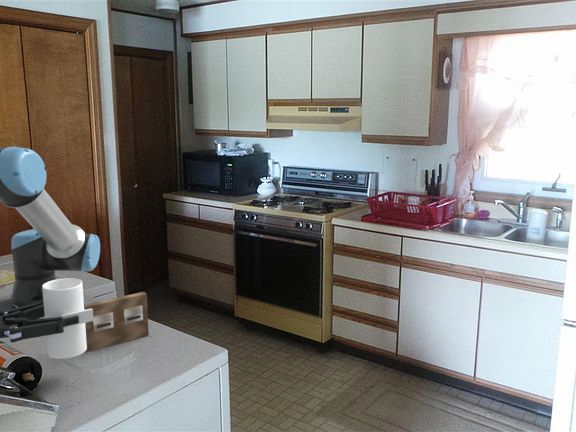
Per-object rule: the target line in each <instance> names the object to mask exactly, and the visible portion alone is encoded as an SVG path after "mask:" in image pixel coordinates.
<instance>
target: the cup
mask: <svg viewBox="0 0 576 432" xmlns="http://www.w3.org/2000/svg"><path fill="white" fill-rule="evenodd" d="M83 286H84V285H83V280H81V279H79V278H69V277H67V278H59V279H58V278H57V280H52V281H49V282H46V283H45V284H43V286H42V290H43V302H44V314H45V316H44V318H56V317H61V315H64V314H69V313H73V312H78V311H82V310H84V305H85V304H84V288H83ZM46 347H47V355H48V357H49V358H51V359H56V360H65V359H71V358H75V357H78V356H80V355H82V354H83V353H85V352H86V351H87V342H86V328H85V323H82V324H78V325H73V326H69V327H65V328H64V332H63V333H59V334H53V335H47V336H46Z"/></svg>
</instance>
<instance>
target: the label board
mask: <svg viewBox="0 0 576 432" xmlns="http://www.w3.org/2000/svg"><path fill="white" fill-rule="evenodd" d="M91 308H92V309H93V319H94V321H91V322H86V323H85V328H86V342H87V349H86V351H88V352H93V351H96V350H101V349H104V348H107V347H111V346H115V345H118V344H123V343H127V342H130V341H134V340H136V339H140V338H146V337H149V335H150V334H149V333H150V332H149V314H148V313H149V312H148V294H147V293H146V292H145V291H141V292H136V293H132V294H128V295H127V294H126V295H123V296H118V297H113V298H109V299H105V300H104V299H103V300H100V301H95V302H91V303H86V304H84V310H87V309H91Z"/></svg>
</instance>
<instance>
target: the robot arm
mask: <svg viewBox="0 0 576 432" xmlns="http://www.w3.org/2000/svg"><path fill="white" fill-rule="evenodd" d="M45 167H46V165H45V162H44V161H43V158H42V157H41V156H40V155H39V154H38V153H37V152H36V151H34V150H32V149H30V148H26V147H20V146H19V147H18V146H0V202H1V204H2V205H4V206H5V207H8V208H12V209H15V210H16V211H17V212H18V213H19V214H20V215H21V216H22V218H24V219H25V221H26V222H27V223H28V224H29V226H31V227H32V228H33V229H27V230H23V231H21V232H17V233H15V234H14V235H13V236H12V237H11V254H12V262H13V263H12V264H13V265H12V266H13V273H14V283H13V287H12V293H11V295H10V304H11V303H12V304H13V305H15V306H17V307H18V308H15V307H13V308H11V309H6V310H0V339H7V338H9V341H10V343H16V342H19V341H22V340H28V339H34V338H40V337H41V338H42V337H45V336H47V335H53V334H59V333H63V332H64V328H65V327H69V326H73V325H78V324H82V323H86V322H91V321H94V319H93V309H92V308H91V309H87V310H82V311H78V312H73V313H69V314H64V315H61V317H56V318H45V314H44V302H43V290H42V286H43V284H45V283H46V282H49V281H52V280H57V279H58V277H57V276H56V275H57V274H56V271H57V272H58V271H60V272H61V271H62V272H64V271H65V272H82V273H84V272H91V271H93V270H94V269H95V268H96V267H97V265H98V263H99V260H100V255H101V242H100V238H99V236H98V235H96V234H93V233H90V234H89V233H88V234H87V233H86V232H85V231H84V230H83V228H81V227H80V226H78V225H76V224H72V223H71V222H70V221H69V219H68V218H67V217H66V215H65V214H64V213H63V212H62V210H61V209H60V208H59V206H58V205H57V203H56V202H55V201H54V199H53V198H52V197H51V196H50V195H49V193H48V192H47V191H46V189H45V186H46V184H47V170H46V169H45Z"/></svg>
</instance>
